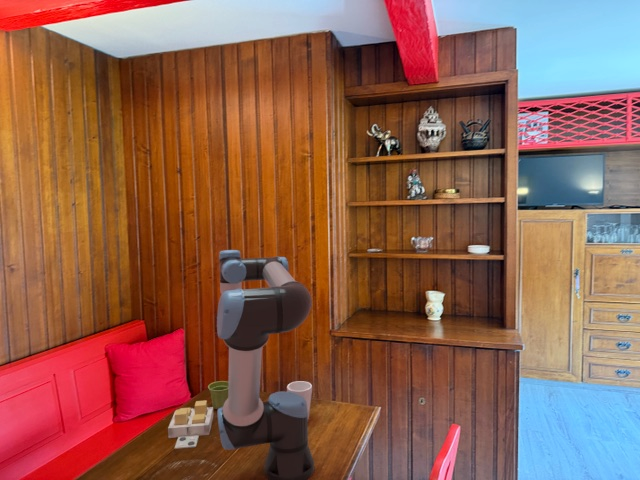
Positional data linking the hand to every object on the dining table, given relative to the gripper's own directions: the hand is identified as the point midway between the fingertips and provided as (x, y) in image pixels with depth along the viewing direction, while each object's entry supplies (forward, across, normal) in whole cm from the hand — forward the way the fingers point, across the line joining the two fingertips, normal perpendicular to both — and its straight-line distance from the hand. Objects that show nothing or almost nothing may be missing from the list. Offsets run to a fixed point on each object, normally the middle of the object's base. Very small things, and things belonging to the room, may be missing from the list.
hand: (233, 358), depth 156 cm
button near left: (+23, +13, -14) cm, 30 cm away
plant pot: (+27, -8, -18) cm, 33 cm away
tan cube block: (+25, +8, -18) cm, 33 cm away
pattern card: (+26, +16, -6) cm, 32 cm away
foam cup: (+27, -19, +15) cm, 36 cm away
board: (+26, +8, -14) cm, 31 cm away
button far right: (+23, +4, -14) cm, 27 cm away
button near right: (+25, +8, -10) cm, 29 cm away
